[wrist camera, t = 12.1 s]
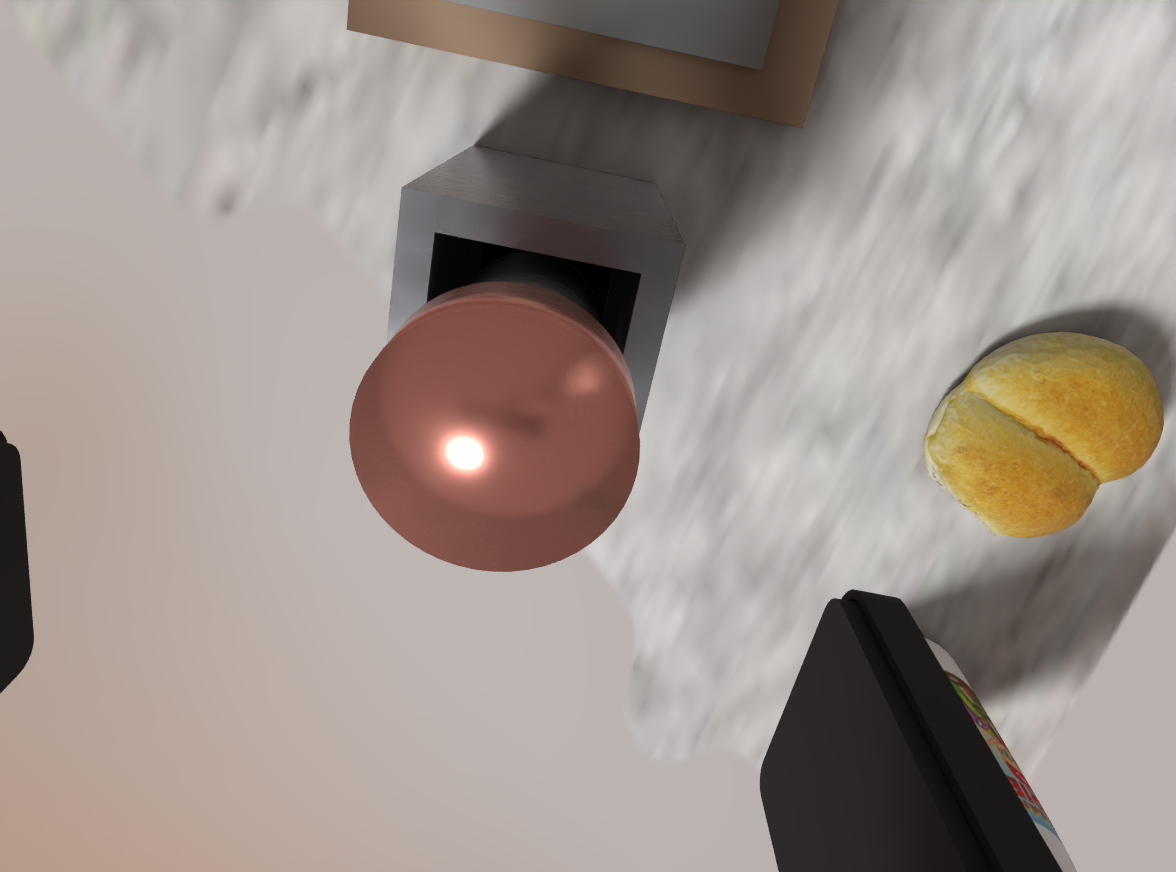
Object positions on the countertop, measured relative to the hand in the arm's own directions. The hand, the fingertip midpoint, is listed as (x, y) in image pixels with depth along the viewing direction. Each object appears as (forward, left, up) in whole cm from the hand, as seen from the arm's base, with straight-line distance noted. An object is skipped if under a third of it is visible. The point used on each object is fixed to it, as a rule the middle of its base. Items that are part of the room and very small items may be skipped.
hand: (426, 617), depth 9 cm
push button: (0, +1, -15) cm, 15 cm away
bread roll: (-22, +4, -25) cm, 33 cm away
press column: (0, +1, -24) cm, 24 cm away
